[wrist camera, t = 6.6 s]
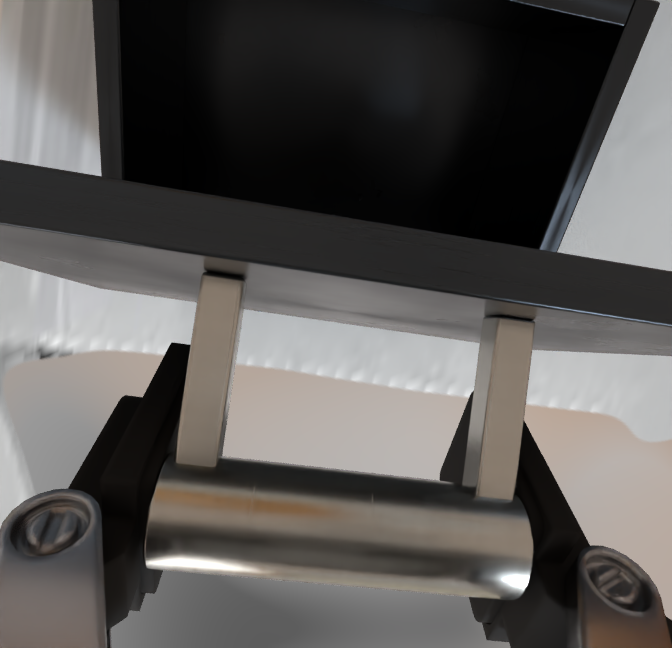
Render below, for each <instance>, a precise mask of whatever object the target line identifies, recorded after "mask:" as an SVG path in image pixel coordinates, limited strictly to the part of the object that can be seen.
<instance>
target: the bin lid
mask: <svg viewBox="0 0 672 648" xmlns="http://www.w3.org/2000/svg"><path fill="white" fill-rule="evenodd" d="M0 261H3V262H7V263H10V264H14V265H18V266H21V267H25V268H28V269H32V270H36V271H39V272H43V273H47V274H50V275H54V276H57V277H61V278H65V279H68V280H72V281H75V282H79V283H83V284H86V285H90V286H94V287H97V288H101V289H108V290H115V291H122V292H129V293H136V294H143V295H150V296H157V297H164V298H171V299H178V300H185V301H192V302H197V307H196V313H195V320H194V326H193V333H192V340H191V346H190V353H189V359H188V366H187V373H186V379H185V386H184V392H183V399H182V406H181V412H180V419H179V425H178V432H177V438H176V445H175V451H171V452H169V453H168V455H167V456H166V458H165V459H164V461H163V463H162V466H161V468H160V470H159V473H158V476H157V479H156V482H155V485H154V488H153V492H152V496H151V500H150V504H149V509H148V513H147V519H146V525H145V531H144V540H143V561H144V565H145V567H146V568H148V569H157V570H169V571H180V572H192V573H203V574H215V575H225V576H237V577H248V578H260V579H271V580H283V581H295V582H306V583H317V584H329V585H340V586H352V587H362V588H374V589H386V590H397V591H408V592H420V593H431V594H442V595H454V596H465V597H477V598H488V599H499V600H516V599H518V598H519V597H521V596H522V595H523V594H524V592H525V591H526V589H527V587H528V585H529V582H530V579H531V575H532V570H533V562H534V540H533V532H532V526H531V522H530V518H529V515H528V512H527V510H526V507H525V505H524V503H523V501H522V500H521V498H520V497H519V496H518V495H517V494H516V493H515V488H516V480H517V471H518V463H519V455H520V446H521V438H522V430H523V421H524V413H525V405H526V396H527V388H528V380H529V371H530V363H531V355H532V350H547V351H570V352H593V353H616V354H639V355H661V356H672V271H666V270H660V269H654V268H648V267H642V266H636V265H630V264H624V263H618V262H612V261H606V260H600V259H594V258H588V257H582V256H576V255H570V254H564V253H558V252H552V251H546V250H540V249H534V248H528V247H522V246H516V245H510V244H504V243H498V242H492V241H486V240H480V239H474V238H468V237H462V236H456V235H450V234H444V233H438V232H432V231H426V230H420V229H414V228H408V227H402V226H396V225H390V224H384V223H378V222H372V221H366V220H360V219H354V218H348V217H342V216H336V215H330V214H324V213H318V212H312V211H306V210H300V209H294V208H288V207H282V206H276V205H270V204H264V203H258V202H252V201H246V200H240V199H234V198H228V197H222V196H216V195H210V194H204V193H198V192H192V191H186V190H180V189H174V188H168V187H162V186H156V185H150V184H144V183H138V182H132V181H126V180H120V179H113V178H107V177H101V176H95V175H89V174H83V173H77V172H71V171H65V170H59V169H53V168H47V167H41V166H35V165H29V164H23V163H17V162H11V161H5V160H0ZM244 309H247V310H254V311H261V312H268V313H275V314H282V315H289V316H296V317H303V318H310V319H317V320H324V321H331V322H338V323H345V324H352V325H359V326H366V327H373V328H379V329H386V330H393V331H400V332H407V333H414V334H421V335H428V336H435V337H442V338H449V339H456V340H463V341H470V342H477V343H480V346H479V354H478V362H477V370H476V378H475V386H474V394H473V402H472V410H471V418H470V426H469V434H468V442H467V450H466V458H465V466H464V474H463V482H462V483H456V482H447V481H438V480H430V479H421V478H412V477H403V476H394V475H385V474H376V473H367V472H358V471H349V470H340V469H332V468H323V467H314V466H305V465H296V464H287V463H278V462H269V461H260V460H251V459H242V458H233V457H225V456H222V452H223V445H224V438H225V432H226V425H227V418H228V412H229V405H230V398H231V391H232V384H233V378H234V371H235V364H236V358H237V351H238V344H239V337H240V330H241V324H242V317H243V310H244Z"/></svg>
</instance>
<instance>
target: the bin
mask: <svg viewBox="0 0 672 648" xmlns="http://www.w3.org/2000/svg"><path fill="white" fill-rule="evenodd" d="M92 2H93V21H94V40H95V59H96V78H97V97H98V116H99V135H100V153H101V172H102V177H107V178H113V179H120V180H126V181H132V182H138V183H144V184H150V185H156V186H162V187H168V188H174V189H180V190H186V191H192V192H198V193H204V194H210V195H216V196H222V197H228V198H234V199H240V200H246V201H252V202H258V203H264V204H270V205H276V206H282V207H288V208H294V209H300V210H306V211H312V212H318V213H324V214H330V215H336V216H342V217H348V218H354V219H360V220H366V221H372V222H378V223H384V224H390V225H396V226H402V227H408V228H414V229H420V230H426V231H432V232H438V233H444V234H450V235H456V236H462V237H468V238H474V239H480V240H486V241H492V242H498V243H504V244H510V245H516V246H522V247H528V248H534V249H540V250H546V251H552V252H557V251H558V249H559V246H560V244H561V241H562V239H563V236H564V234H565V232H566V229H567V227H568V224H569V222H570V220H571V217H572V215H573V212H574V210H575V208H576V205H577V203H578V200H579V198H580V195H581V193H582V191H583V188H584V186H585V183H586V181H587V179H588V176H589V174H590V171H591V169H592V166H593V164H594V162H595V159H596V157H597V154H598V152H599V150H600V147H601V145H602V142H603V140H604V138H605V135H606V133H607V130H608V128H609V125H610V123H611V121H612V118H613V116H614V113H615V111H616V109H617V106H618V104H619V101H620V99H621V97H622V94H623V92H624V89H625V87H626V84H627V82H628V80H629V77H630V75H631V72H632V70H633V68H634V65H635V63H636V60H637V58H638V56H639V53H640V51H641V48H642V46H643V43H644V41H645V39H646V36H647V34H648V31H649V29H650V27H651V24H652V22H653V19H654V17H655V15H656V12H657V10H658V7H659V5H660V3H659V2H658V1H654V0H92Z"/></svg>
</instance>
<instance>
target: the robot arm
mask: <svg viewBox="0 0 672 648" xmlns="http://www.w3.org/2000/svg"><path fill="white" fill-rule="evenodd" d="M190 346H191V345H186V344H179V343H171V345H170V346H169V348H168V350H167V352H166V354H165V356H164V358H163V360H162V362H161V364H160V366H159V367H158V369H157V371H156V373H155V375H154V377H153V379H152V381H151V383H150V384H149V387H148V388H147V390H146V392H145V394H144V396H143V397H135V396H127V395H125V396H124V397H122V398H121V399H120V401H119V402H118V404H117V406H116V407H115V409H114V411H113V413H112V414H111V416H110V418H109V419H108V421H107V423H106V425H105V426H104V428H103V430H102V431H101V433H100V435H99V437H98V438H97V440H96V442H95V443H94V445H93V447H92V449H91V450H90V452H89V454H88V455H87V457H86V459H85V460H84V462H83V464H82V466H81V467H80V469H79V471H78V473H77V474H76V476H75V478H74V479H73V481H72V483H71V484H70V486H69V488H68V489H56V490H51V491H47V492H44V493H40V494H38V495H35V496H33V497H31V498H29V499H27V500H25V501H24V502H23V503H21V504H20V505H19V506H17V507H16V508H15V509H14V510H12V511H11V513H10V514H9V515H8V516H7V518H6V519H5V520H4V521H3V523H2V526H1V528H0V648H111V627H113V626H114V625H116V624H117V623H119V622H120V621H122V620H123V619H125V618H126V617H127V616H128V613H129V610H133V611H140V608H141V605H142V602H143V599H144V596H145V593H153V594H154V593H155V592H156V590H157V587H158V584H159V581H160V578H161V575H162V572H163V570H157V569H148V568H146V567H145V565H144V561H143V540H144V531H145V525H146V519H147V513H148V509H149V504H150V500H151V496H152V492H153V488H154V485H155V482H156V479H157V476H158V473H159V470H160V468H161V466H162V463H163V461H164V459H165V458H166V456H167V455H168V453H169V452H171V451H175V445H176V438H177V432H178V425H179V419H180V412H181V406H182V399H183V392H184V386H185V379H186V373H187V366H188V359H189V353H190ZM473 394H474V391H473V392H472V393H471V395H470V397H469V400H468V402H467V405H466V408H465V410H464V413H463V415H462V418H461V420H460V423H459V425H458V428H457V430H456V433H455V436H454V438H453V441H452V443H451V446H450V448H449V451H448V453H447V456H446V458H445V461H444V463H443V466H442V468H441V472H440V481H447V482H456V483H462V482H463V474H464V466H465V458H466V450H467V442H468V434H469V426H470V418H471V410H472V402H473ZM515 493H516V494H517V495H518V496H519V497H520V498H521V500H522V501H523V503H524V505H525V507H526V510H527V512H528V515H529V518H530V522H531V526H532V532H533V540H534V562H533V570H532V575H531V579H530V582H529V585H528V587H527V589H526V591H525V592H524V594H523V595H522V596H521V597H519V598H518V599H516V600H499V599H488V598H477V597H469V599H470V603H471V607H472V611H473V614H474V617H475V619H476V620H477V621H478V622H482V624H483V628H484V631H485V635H486V639H487V640H492V641H503V642H509V643H510V646H511V648H672V620H670V619H669V618H667V617H666V616H665V614H664V609H663V605H662V600H661V597H660V594H659V592H658V589H657V587H656V586H655V584H654V583H653V581H652V580H651V578H650V577H649V575H648V574H647V573H646V572H645V571H644V570H643V569H642V568H641V567H640V566H639V565H638V564H637V563H635V562H634V561H633V560H631V559H629V558H628V557H627V556H626V555H624V554H622V553H620V552H618V551H616V550H614V549H611V548H608V547H604V546H590V545H589V543H588V541H587V539H586V537H585V535H584V533H583V531H582V530H581V528H580V526H579V524H578V522H577V520H576V518H575V516H574V514H573V512H572V511H571V509H570V507H569V505H568V503H567V501H566V499H565V497H564V495H563V494H562V491H561V490H560V488H559V486H558V484H557V482H556V480H555V478H554V476H553V474H552V472H551V471H550V469H549V467H548V465H547V463H546V461H545V459H544V457H543V455H542V454H541V452H540V450H539V448H538V446H537V444H536V442H535V441H534V439H533V437H532V435H531V433H530V431H529V429H528V427H527V425H526V423H525V422H524V421H523V430H522V438H521V446H520V455H519V463H518V471H517V480H516V488H515Z"/></svg>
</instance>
